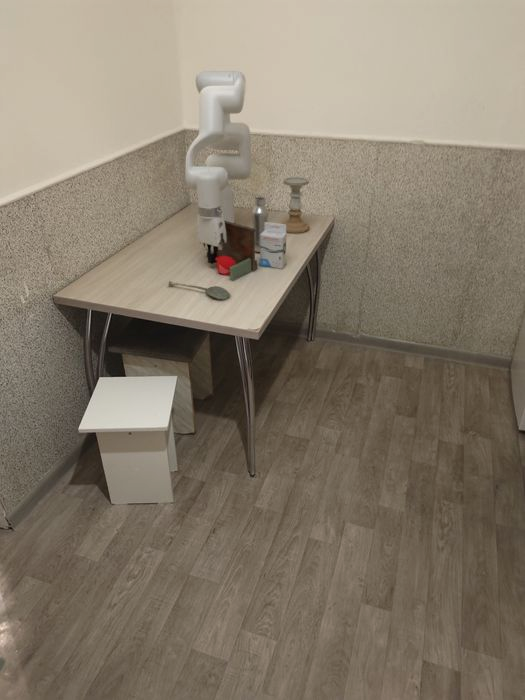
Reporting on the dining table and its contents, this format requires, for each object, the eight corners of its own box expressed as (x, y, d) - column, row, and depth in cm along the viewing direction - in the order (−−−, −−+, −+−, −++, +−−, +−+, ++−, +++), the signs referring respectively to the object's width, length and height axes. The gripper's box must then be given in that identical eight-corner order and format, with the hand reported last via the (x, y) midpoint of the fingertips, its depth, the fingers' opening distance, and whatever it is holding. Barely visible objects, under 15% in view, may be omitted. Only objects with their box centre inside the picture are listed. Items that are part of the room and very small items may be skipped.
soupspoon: (222, 304, 159) (232, 297, 164) (223, 294, 157) (233, 287, 162) (164, 289, 167) (175, 282, 172) (163, 279, 165) (175, 273, 170)
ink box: (259, 266, 183) (259, 226, 175) (263, 260, 187) (263, 221, 179) (282, 269, 181) (282, 228, 173) (286, 263, 185) (287, 224, 177)
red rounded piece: (240, 270, 180) (239, 254, 176) (233, 277, 175) (233, 260, 172) (219, 267, 182) (218, 251, 179) (212, 274, 177) (211, 257, 174)
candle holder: (314, 227, 218) (316, 178, 208) (300, 235, 210) (302, 185, 199) (289, 222, 224) (290, 175, 213) (274, 230, 215) (275, 181, 204)
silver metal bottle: (271, 249, 197) (271, 197, 186) (264, 255, 192) (264, 202, 181) (256, 246, 199) (255, 195, 188) (248, 252, 194) (247, 199, 183)
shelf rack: (186, 265, 184) (183, 224, 176) (211, 254, 192) (209, 214, 184) (235, 281, 172) (233, 238, 164) (258, 269, 181) (258, 227, 173)
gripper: (234, 212, 169) (235, 264, 179) (201, 204, 177) (204, 254, 187) (218, 218, 164) (221, 271, 174) (186, 209, 172) (190, 260, 182)
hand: (212, 262), depth 180 cm, fingers closed
